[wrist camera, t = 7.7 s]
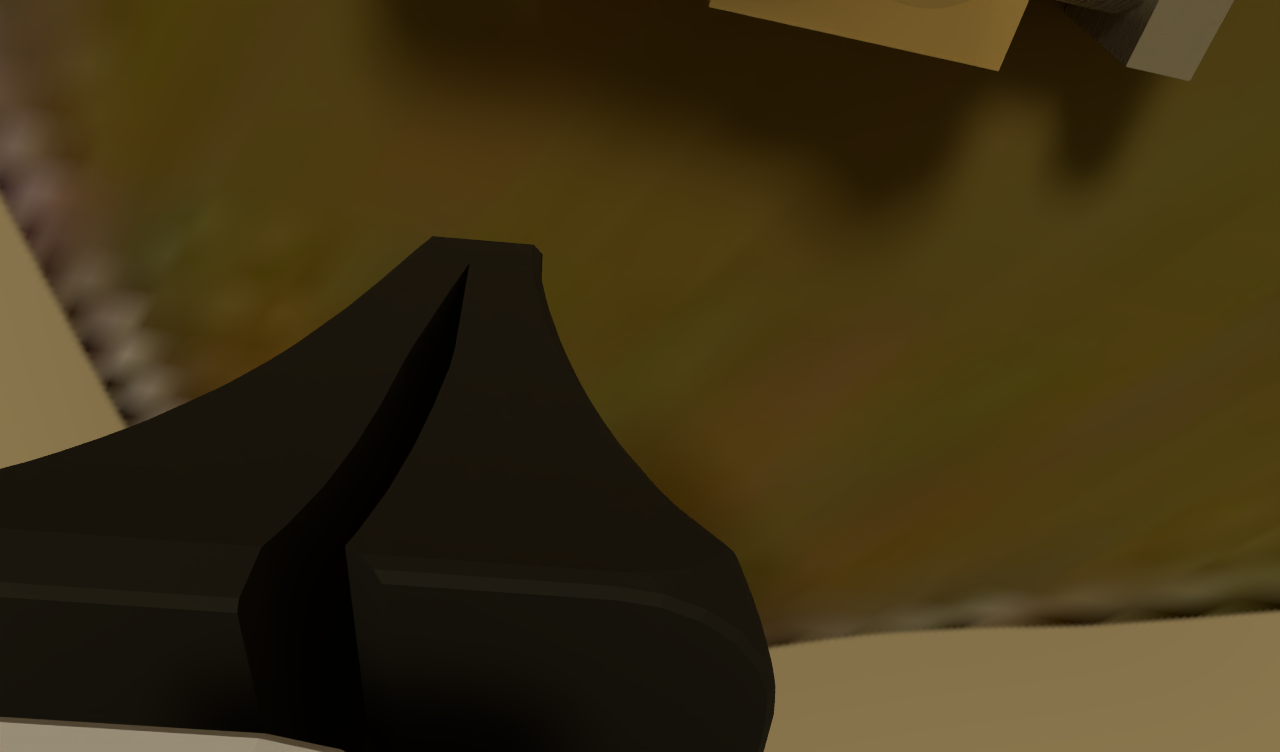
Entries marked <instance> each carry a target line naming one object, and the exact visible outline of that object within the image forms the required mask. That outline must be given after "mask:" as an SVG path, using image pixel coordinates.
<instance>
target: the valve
mask: <svg viewBox="0 0 1280 752" xmlns="http://www.w3.org/2000/svg"><path fill="white" fill-rule="evenodd" d="M1028 1H1029V0H970V1H968V2H965V3H962V4H959V5H956V6H951V7H946V8H936V9H926V8H916V7H912V6H907V5H904V4H902V3H899V2H896V1H894V0H708V4H709V7H711V8H716V9H720V10H725V11H730V12H734V13H739V14H743V15H748V16H752V17H757V18H761V19H766V20H770V21H775V22H779V23H784V24H788V25H793V26H797V27H802V28H806V29H811V30H815V31H820V32H824V33H829V34H833V35H838V36H842V37H847V38H851V39H856V40H860V41H865V42H869V43H874V44H878V45H883V46H887V47H892V48H896V49H901V50H905V51H910V52H914V53H919V54H923V55H928V56H932V57H937V58H941V59H946V60H950V61H955V62H959V63H964V64H968V65H973V66H977V67H982V68H986V69H991V70H995V71H999V69H1000V67H1001V64H1002V62H1003V60H1004V57H1005V55H1006V53H1007V50H1008V48H1009V46H1010V43H1011V41H1012V39H1013V36H1014V34H1015V32H1016V29H1017V27H1018V25H1019V22H1020V20H1021V18H1022V15H1023V13H1024V11H1025V8H1026V6H1027V4H1028ZM1056 1H1060V2H1065V3H1068V4H1067V7H1066V9H1065V11H1064V13H1065V14H1067V15H1068V16H1069V17H1070V18H1071V19H1072V20H1073V21H1075V22H1076V23H1077V24H1078V25H1079V26H1080V27H1081V28H1082V29H1084V30H1085V31H1086V32H1087V33H1088V34H1089V35H1090V36H1092V37H1093V38H1094V39H1095V40H1096V41H1097V42H1098V43H1099V44H1101V45H1102V46H1103V47H1104V48H1105V49H1106V50H1107V51H1109V52H1110V53H1111V54H1112V55H1113V56H1114V57H1115V58H1116V59H1118V60H1119V61H1120V62H1121V63H1122V64H1123V65H1124V66H1126V67H1129V68H1134V69H1138V70H1143V71H1147V72H1151V73H1156V74H1160V75H1165V76H1169V77H1174V78H1178V79H1182V80H1187V81H1190V80H1191V78H1192V76H1193V74H1194V72H1195V71H1196V69H1197V67H1198V65H1199V63H1200V62H1201V60H1202V58H1203V56H1204V54H1205V52H1206V51H1207V49H1208V47H1209V45H1210V43H1211V41H1212V40H1213V38H1214V36H1215V34H1216V32H1217V30H1218V29H1219V27H1220V25H1221V23H1222V21H1223V19H1224V18H1225V16H1226V14H1227V12H1228V10H1229V9H1230V7H1231V5H1232V3H1233V1H1234V0H1056Z"/></svg>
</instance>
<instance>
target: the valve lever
mask: <svg viewBox="0 0 1280 752" xmlns="http://www.w3.org/2000/svg"><path fill="white" fill-rule="evenodd" d="M894 1H896V2H899V3H902V4H904V5H907V6H912V7H916V8H926V9H936V8H946V7H951V6H956V5H959V4H962V3H965V2H968V1H970V0H894Z"/></svg>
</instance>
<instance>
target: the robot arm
mask: <svg viewBox="0 0 1280 752" xmlns="http://www.w3.org/2000/svg"><path fill="white" fill-rule="evenodd" d="M774 703H775V680H774V673H773V667H772V662H771V658H770V654H769V650H768V646H767V642H766V638H765V635H764V631H763V627H762V624H761V620H760V617H759V614H758V612H757V609H756V606H755V603H754V600H753V597H752V594H751V592H750V589H749V587H748V584H747V582H746V579H745V576H744V574H743V571H742V569H741V566H740V564H739V562H738V559H737V557H736V555H735V553H734V552H733V551H732V550H731V549H730V548H729V547H728V546H726V545H725V544H724V543H723V542H721V541H720V540H719V539H717V538H716V537H715V536H714V535H712V534H711V533H710V532H708V531H707V530H706V529H705V528H703V527H702V526H701V525H699V524H698V523H697V522H696V521H694V520H693V519H692V518H690V517H689V516H688V515H687V514H685V513H684V512H683V511H681V510H680V509H679V508H678V507H677V506H676V505H674V504H673V503H672V502H671V501H670V500H669V499H668V498H667V497H666V496H665V495H664V494H663V493H662V492H661V491H660V490H659V489H658V488H657V487H656V486H655V485H654V484H653V482H652V481H651V480H650V479H649V478H648V477H647V475H646V474H645V473H644V472H643V471H642V470H641V469H640V467H639V466H638V465H637V464H636V463H635V462H634V460H633V459H632V458H631V457H630V456H629V455H628V454H627V452H626V451H625V450H624V449H623V448H622V446H621V445H620V444H619V443H618V441H617V440H616V438H615V437H614V436H613V434H612V433H611V431H610V430H609V429H608V427H607V426H606V424H605V423H604V422H603V420H602V419H601V417H600V415H599V414H598V412H597V411H596V409H595V408H594V406H593V404H592V403H591V401H590V400H589V398H588V396H587V394H586V393H585V391H584V389H583V387H582V385H581V384H580V382H579V380H578V378H577V376H576V374H575V372H574V370H573V368H572V366H571V364H570V362H569V360H568V357H567V355H566V353H565V351H564V348H563V346H562V344H561V341H560V339H559V336H558V334H557V331H556V328H555V325H554V322H553V320H552V317H551V314H550V311H549V308H548V304H547V301H546V297H545V293H544V288H543V284H542V253H541V252H540V251H539V250H538V249H537V248H536V247H535V246H534V245H529V244H517V243H506V242H494V241H482V240H470V239H458V238H446V237H434V236H432V237H431V238H430V239H429V240H428V241H426V242H425V243H424V244H423V245H421V246H420V247H419V248H418V249H416V250H415V251H414V252H413V253H412V254H411V255H409V256H408V257H407V258H406V259H405V260H404V261H402V262H401V263H400V264H399V265H398V266H397V267H395V268H394V269H393V270H392V271H391V272H390V273H388V274H387V275H386V276H385V277H384V278H383V279H381V280H380V281H379V282H378V283H377V284H376V285H374V286H373V287H372V288H371V289H369V290H368V291H367V292H366V293H364V294H363V295H362V296H361V297H359V298H358V299H357V300H356V301H354V302H353V303H352V304H351V305H349V306H348V307H347V308H346V309H345V310H343V311H342V312H340V313H339V314H338V315H336V316H335V317H333V318H332V319H330V320H329V321H328V322H326V323H325V324H323V325H322V326H321V327H319V328H318V329H316V330H315V331H314V332H312V333H311V334H309V335H308V336H306V337H305V338H304V339H302V340H301V341H299V342H298V343H297V344H295V345H293V346H292V347H290V348H289V349H287V350H286V351H284V352H282V353H281V354H279V355H277V356H276V357H274V358H272V359H271V360H269V361H268V362H266V363H264V364H262V365H260V366H259V367H257V368H255V369H253V370H251V371H250V372H248V373H246V374H244V375H242V376H241V377H239V378H237V379H235V380H233V381H231V382H230V383H228V384H226V385H224V386H222V387H220V388H218V389H216V390H213V391H211V392H209V393H207V394H205V395H202V396H200V397H198V398H196V399H194V400H191V401H189V402H187V403H185V404H182V405H180V406H178V407H176V408H174V409H171V410H169V411H167V412H165V413H162V414H160V415H158V416H156V417H154V418H151V419H149V420H147V421H144V422H142V423H139V424H137V425H134V426H131V427H129V428H126V429H123V430H121V431H118V432H115V433H113V434H110V435H108V436H105V437H102V438H99V439H96V440H93V441H90V442H87V443H84V444H81V445H78V446H75V447H72V448H69V449H66V450H63V451H61V452H58V453H54V454H51V455H48V456H44V457H41V458H38V459H35V460H32V461H28V462H25V463H21V464H17V465H13V466H9V467H5V468H2V469H0V752H763V751H764V748H765V744H766V741H767V737H768V733H769V730H770V726H771V722H772V719H773V715H774Z"/></svg>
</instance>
